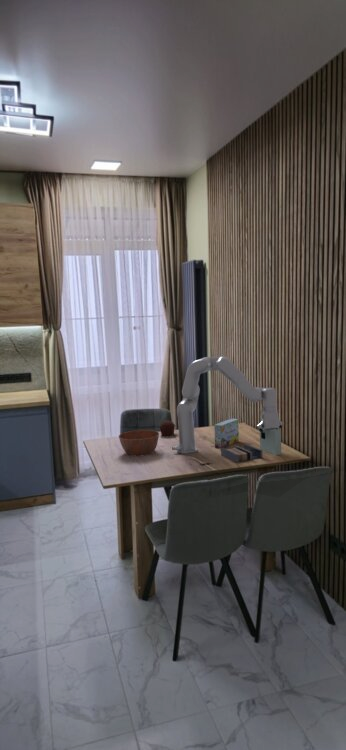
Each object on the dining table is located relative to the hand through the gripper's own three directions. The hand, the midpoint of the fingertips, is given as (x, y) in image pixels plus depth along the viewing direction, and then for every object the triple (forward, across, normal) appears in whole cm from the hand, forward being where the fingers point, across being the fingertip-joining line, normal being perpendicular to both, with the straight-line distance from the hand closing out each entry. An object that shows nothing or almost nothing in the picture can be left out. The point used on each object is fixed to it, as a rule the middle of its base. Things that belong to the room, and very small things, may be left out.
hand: (270, 437), depth 301 cm
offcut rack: (+9, -20, 0) cm, 22 cm away
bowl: (+10, -66, +45) cm, 80 cm away
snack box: (+10, -12, +31) cm, 35 cm away
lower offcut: (+8, -23, 0) cm, 25 cm away
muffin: (+10, -34, +77) cm, 85 cm away
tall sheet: (+9, 0, 0) cm, 9 cm away
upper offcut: (+7, -23, 0) cm, 24 cm away
